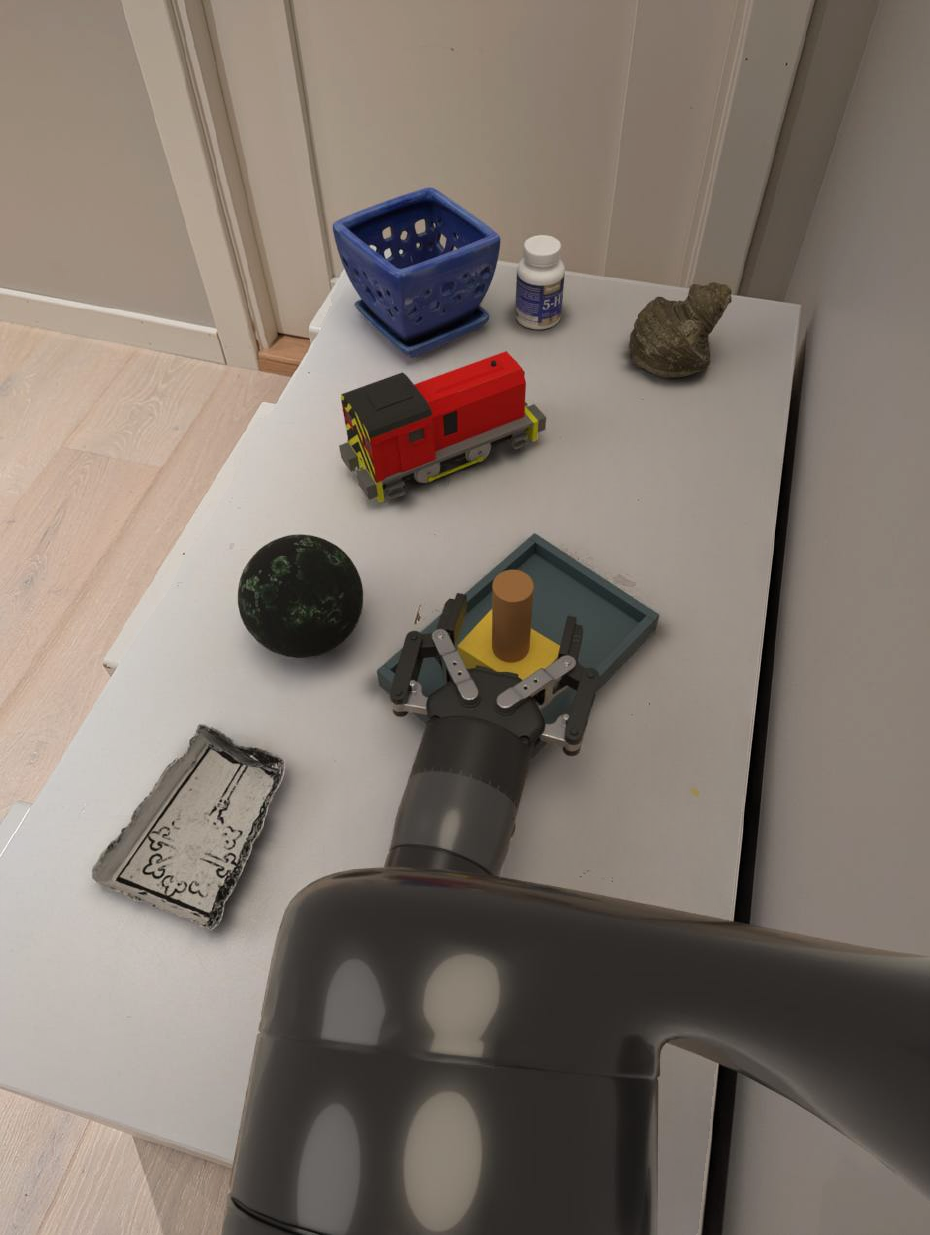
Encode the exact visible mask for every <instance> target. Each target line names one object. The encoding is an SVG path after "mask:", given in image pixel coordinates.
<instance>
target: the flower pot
mask: <svg viewBox="0 0 930 1235" xmlns="http://www.w3.org/2000/svg"><path fill="white" fill-rule="evenodd" d="M422 220H424V227H425V230H424V231H422V232H419V233H417V230H416V224H417V223H418V222H419V221H422ZM388 228H389V230H390V236H388V237H386V238H384V233H383V232H384V231H385V230H386V229H388ZM332 232H333V233H332V234H333V237H334V241H335V245H336V249H337V252H338V256H339V258H340V261H341V264H342V266H343V269H344V271H345V273H346V276H347V278H348V279H349V282H350V283H351V285H352V287H353V288H354V290H355V292H356V293H357V295H358V297H359V298H360V299H359V300H356V301H355V302H354V307H355V309H356V310H357V311H358V312H359V314H361V316H362V317H364V319H365V320H367V321H368V323H370V324H371V325H372V326H373V327H374V328H375V329H376V330H377V331H378V332H380V333H381V335H383V336H384V337H385V338H386V339H387V340H388V341H389V342H390V343H392V345H394V347H395V348H397V349H398V350H399V351H400V352H401V353H403V354H404V355H405V356H406V357H408V358H411V359H412V358H415V357H418V356H421V355H423V354H424V353H428V352H429V351H432V350H435V349H437V348H439V347H442V346H444V345H446V344H448V343H451V342H453V341H455V340H458V339H460V338H462V337H464V336H466V335H468V334H470V333H472V332H475V331H477V330H479V329H480V328H482V327H483V326H484V325H486V323H487V322H488V321H489V320H490V317H491V315H490V313H489V312H488V311H487V310H486V309H485V308H483V307H482V305H481V304H482V302H483V300H484V299H485V297H486V295H487V292H488V291H489V289H490V286H491V284H492V282H493V278H494V276H495V272H496V270H497V266H498V262H499V257H500V256H499V255H500V249H501V236H500V234H499V233H497V231H495V230H494V229H493V228H492V227H491V226H489V225H487V224H486V223H485V222H484V221H483V220H481V219H480V218H478V217H477V216H476V215H474V214H473V213H471V212H470V211H468V210H467V209H466V208H464V207H463V206H462V205H460V204H459V203H457V202H455V201H454V200H453V199H452V198H451V197H449V196H447V195H445V193H443V192H441V191H440V190H438V189H436V188H434V187H430V186H429V187H424V188H421V189H417V190H415V191H411V192H408V193H404V194H402V195H399V196H396V197H394V198H391V199H388V200H385V201H382V202H380V203H377V204H373V205H372V206H367V207H366V208H364V209H361V210H358V211H355V212H353V213H351V214H348V215H346V216H344V217H341V218H340V219H338V220H335V221H334V222H333V224H332ZM403 232H406V237H405V239H402V235H403ZM442 236H443V237H444V238H445V244H444V246H443V245H442V244H441V237H442ZM418 244H419V245H418ZM417 245H418V246H417ZM371 246H372V247H375V249H373V248H372V247H371ZM387 250H389V251H390V256H388V257H386V255H385V252H386V251H387ZM400 251H402V252H401V253H400Z"/></svg>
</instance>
